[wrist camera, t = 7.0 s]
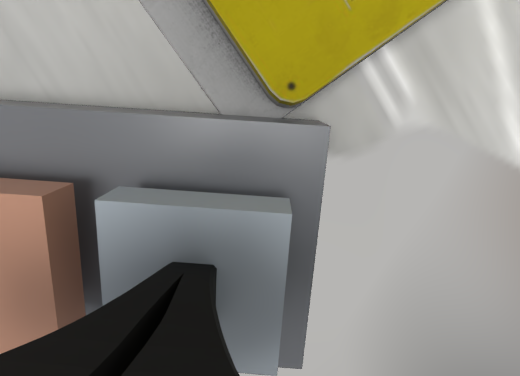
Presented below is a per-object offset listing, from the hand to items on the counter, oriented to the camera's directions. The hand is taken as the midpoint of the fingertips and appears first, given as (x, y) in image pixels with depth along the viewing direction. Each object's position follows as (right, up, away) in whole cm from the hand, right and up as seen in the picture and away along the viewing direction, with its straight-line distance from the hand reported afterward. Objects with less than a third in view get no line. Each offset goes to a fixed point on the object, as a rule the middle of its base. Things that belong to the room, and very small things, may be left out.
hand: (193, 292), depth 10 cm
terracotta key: (-7, +2, +4) cm, 8 cm away
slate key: (0, +1, +4) cm, 4 cm away
